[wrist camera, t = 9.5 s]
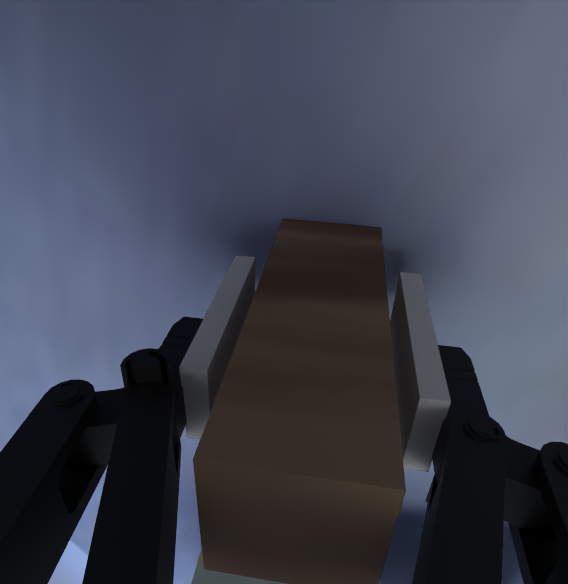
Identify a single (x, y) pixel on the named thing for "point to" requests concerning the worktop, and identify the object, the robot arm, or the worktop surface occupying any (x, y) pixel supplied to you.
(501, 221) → the worktop surface
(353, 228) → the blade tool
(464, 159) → the worktop surface
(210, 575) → the cabinet
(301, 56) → the worktop surface
